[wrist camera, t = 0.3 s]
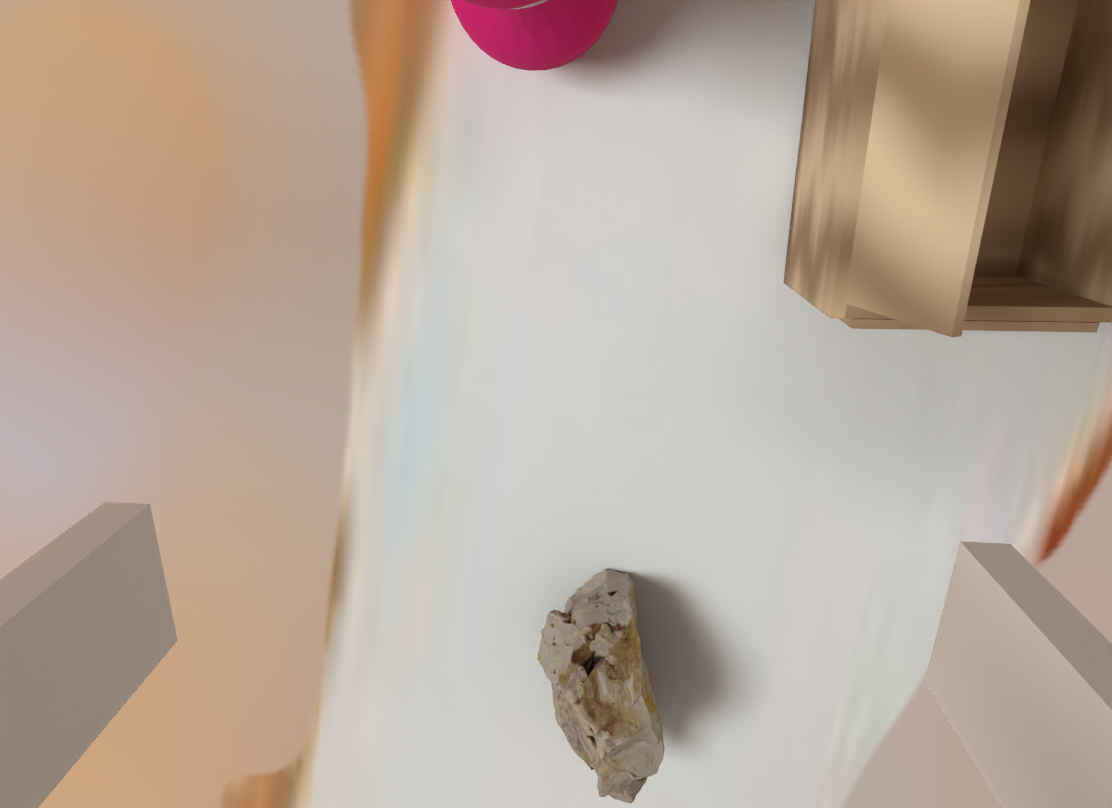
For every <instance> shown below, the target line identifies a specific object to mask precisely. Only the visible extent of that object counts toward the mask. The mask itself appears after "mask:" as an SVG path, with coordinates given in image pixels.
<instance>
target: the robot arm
mask: <svg viewBox="0 0 1112 808" xmlns="http://www.w3.org/2000/svg"><path fill="white" fill-rule="evenodd" d="M176 641H177V636H176V631H175V626H174V621H173V616H172V611H171V606H170V602H169V596H168V591H167V586H166V581H165V577H164V572H163V567H162V562H161V557H160V552H159V547H158V542H157V537H156V532H155V527H154V522H153V517H152V512H151V508H150V504H135V503H113V502H104V503H103V504H102V505H100V506H99V507H98V508H96V509H95V510H94V511H92V512H91V513H90V514H88V515H87V516H86V517H84V518H83V519H82V520H80V521H79V522H77V523H76V524H75V525H73V526H72V527H71V528H69V529H68V530H67V531H65V532H64V533H63V534H61V535H60V536H59V537H57V538H56V539H54V540H53V541H52V542H50V543H49V544H48V545H47V546H45V547H44V548H42V549H41V550H40V551H38V552H37V553H36V554H34V555H33V556H32V557H30V558H29V559H28V560H26V561H25V562H24V563H22V564H21V565H20V566H18V567H17V568H15V569H14V570H13V571H11V572H10V573H9V574H7V575H6V576H5V577H3V578H2V579H1V580H0V808H38V807H39V806H40V805H41V803H42V802H43V801H44V800H45V799H46V798H47V796H48V795H49V794H50V793H51V792H52V790H53V789H54V788H55V787H56V786H57V784H58V783H59V782H60V781H61V780H62V778H63V777H64V776H65V775H66V773H67V772H68V771H69V770H70V769H71V768H72V766H73V765H74V764H75V763H76V762H77V760H78V759H79V758H80V757H81V755H82V754H83V753H84V752H85V751H86V750H87V748H88V747H89V746H90V745H91V743H92V742H93V741H94V740H95V739H96V738H97V736H98V735H99V734H100V733H101V732H102V730H103V729H104V728H105V727H106V726H107V724H108V723H109V722H110V721H111V720H112V718H113V717H114V716H115V715H116V714H117V712H118V711H119V710H120V709H121V708H122V706H123V705H124V704H125V703H126V702H127V700H128V699H129V698H130V697H131V696H132V694H133V693H134V692H135V691H136V690H137V688H138V687H139V686H140V685H141V684H142V682H143V681H144V680H145V679H146V678H147V676H148V675H149V674H150V673H151V671H152V670H153V669H154V668H155V667H156V666H157V664H158V663H159V662H160V661H161V660H162V658H163V657H164V656H165V655H166V654H167V652H168V651H169V650H170V649H171V648H172V646H173V645H174V644H175V643H176ZM925 683H926V684H927V686H928V688H929V689H930V691H931V692H932V694H933V696H934V697H935V699H936V701H937V703H938V704H939V706H940V707H941V709H942V711H943V712H944V714H945V716H946V717H947V719H948V721H949V722H950V724H951V726H952V727H953V729H954V731H955V732H956V734H957V736H958V737H959V739H960V741H961V742H962V744H963V746H964V747H965V749H966V750H967V752H968V754H969V756H970V757H971V759H972V761H973V762H974V764H975V766H976V767H977V769H978V771H979V772H980V774H981V775H982V777H983V779H984V780H985V782H986V784H987V785H988V787H989V789H990V790H991V792H992V794H993V795H994V797H995V799H996V800H997V802H998V804H999V805H1000V807H1001V808H1112V644H1111V643H1110V642H1109V641H1108V640H1107V639H1106V638H1105V637H1104V636H1103V635H1102V634H1101V633H1100V632H1099V631H1098V630H1097V629H1096V628H1095V627H1094V626H1093V625H1092V624H1091V623H1090V622H1089V621H1088V620H1087V619H1086V618H1085V617H1084V616H1083V615H1082V614H1081V613H1080V612H1079V611H1078V610H1077V609H1076V608H1075V607H1074V606H1073V605H1072V604H1070V602H1069V601H1068V600H1067V599H1066V598H1064V597H1063V596H1062V594H1061V593H1060V592H1059V591H1057V590H1056V589H1055V588H1054V587H1053V586H1052V585H1051V584H1050V583H1049V582H1048V581H1047V580H1046V579H1045V578H1044V577H1043V576H1042V575H1041V574H1040V573H1039V572H1038V571H1037V570H1036V569H1035V568H1034V567H1033V566H1032V565H1031V564H1030V563H1029V562H1028V561H1027V560H1026V559H1025V558H1024V557H1023V556H1022V555H1021V554H1020V553H1019V552H1018V551H1017V550H1016V549H1015V548H1014V547H1013V546H1012V545H1011V544H1001V543H979V542H960V545H959V549H958V553H957V557H956V561H955V564H954V568H953V572H952V576H951V580H950V584H949V588H948V592H947V596H946V600H945V604H944V607H943V611H942V615H941V619H940V623H939V627H938V631H937V635H936V639H935V643H934V647H933V651H932V654H931V658H930V662H929V666H928V670H927V674H926V678H925Z"/></svg>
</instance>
